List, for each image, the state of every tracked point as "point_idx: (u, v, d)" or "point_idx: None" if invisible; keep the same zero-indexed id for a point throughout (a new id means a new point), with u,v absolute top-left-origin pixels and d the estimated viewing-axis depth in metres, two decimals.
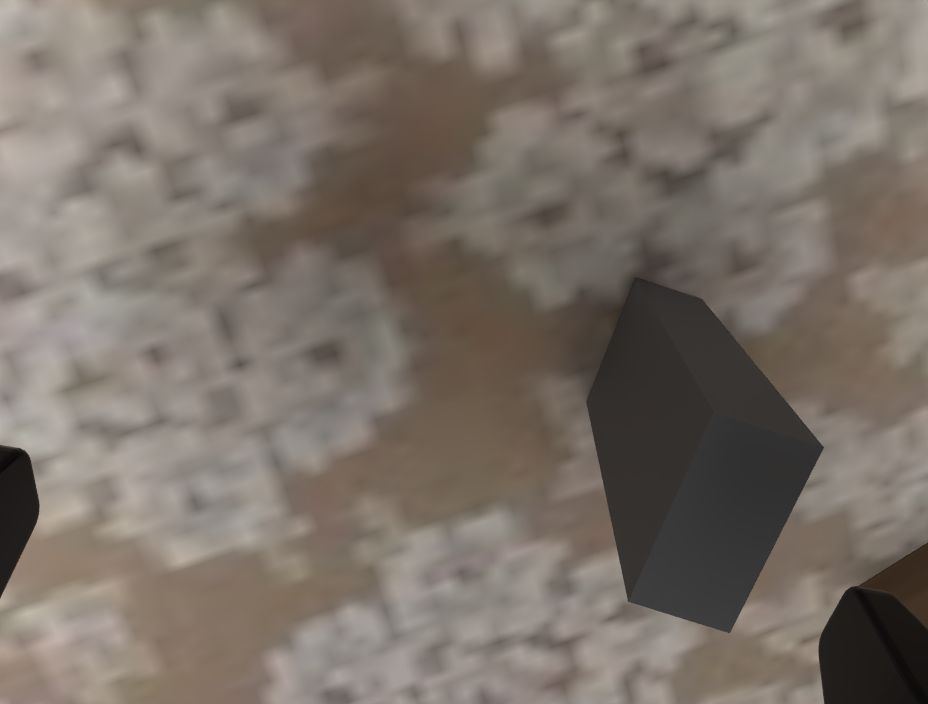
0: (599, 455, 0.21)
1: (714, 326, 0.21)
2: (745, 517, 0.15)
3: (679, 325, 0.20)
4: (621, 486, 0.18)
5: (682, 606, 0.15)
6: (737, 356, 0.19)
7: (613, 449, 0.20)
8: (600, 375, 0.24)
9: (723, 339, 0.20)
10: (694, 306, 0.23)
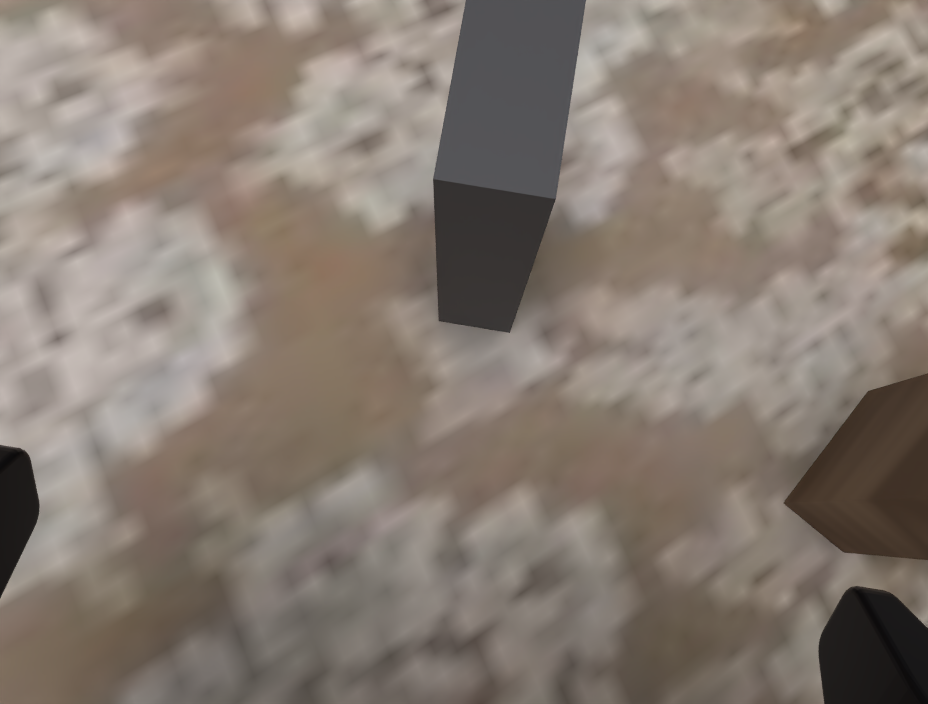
0: None
1: None
2: (533, 62, 0.14)
3: None
4: None
5: (494, 174, 0.14)
6: None
7: None
8: None
9: None
10: None
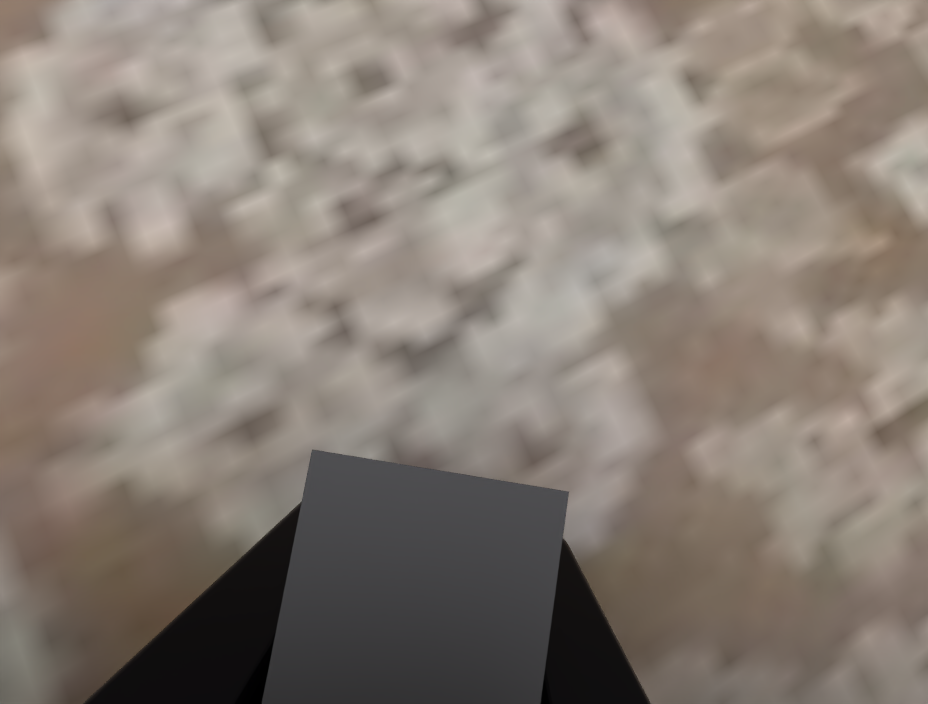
0: None
1: None
2: None
3: None
4: None
5: None
6: None
7: None
8: None
9: None
10: None
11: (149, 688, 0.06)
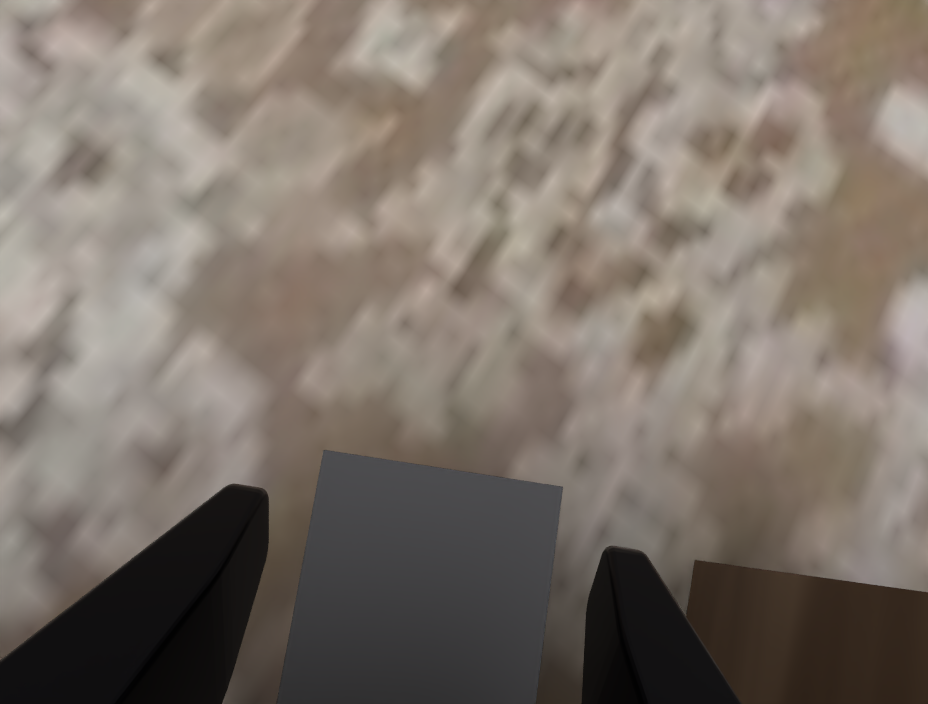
0: None
1: None
2: (447, 686, 0.07)
3: None
4: None
5: None
6: None
7: None
8: None
9: None
10: None
11: (38, 670, 0.06)
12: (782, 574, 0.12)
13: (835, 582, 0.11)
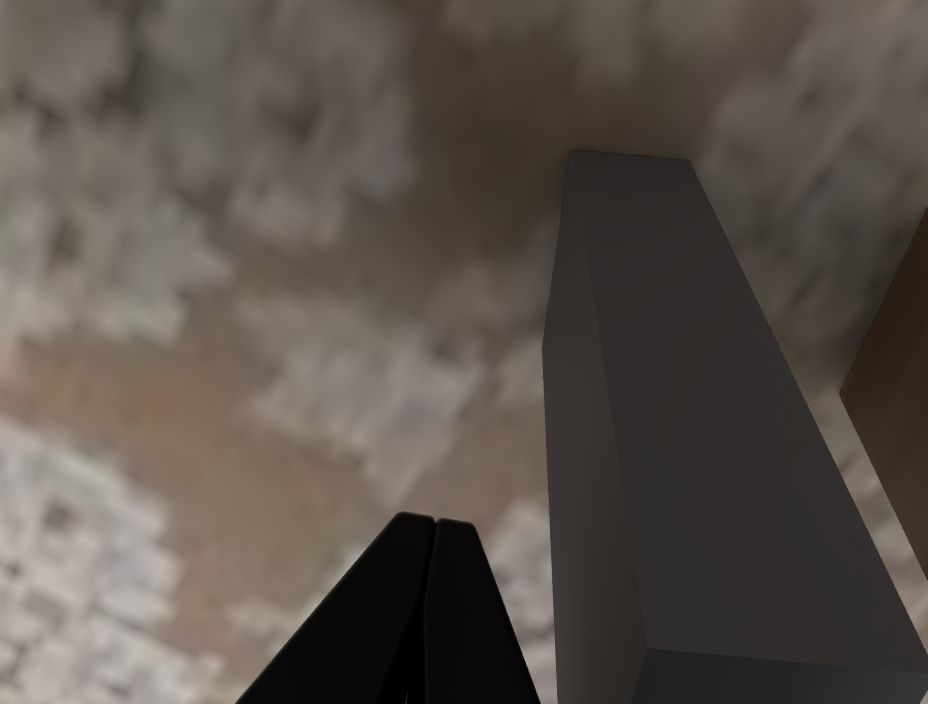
0: (549, 478, 0.13)
1: (701, 238, 0.12)
2: None
3: (627, 269, 0.11)
4: (562, 595, 0.10)
5: None
6: (738, 327, 0.10)
7: (557, 491, 0.12)
8: (549, 313, 0.15)
9: (715, 275, 0.11)
10: (671, 188, 0.13)
11: None
12: None
13: None
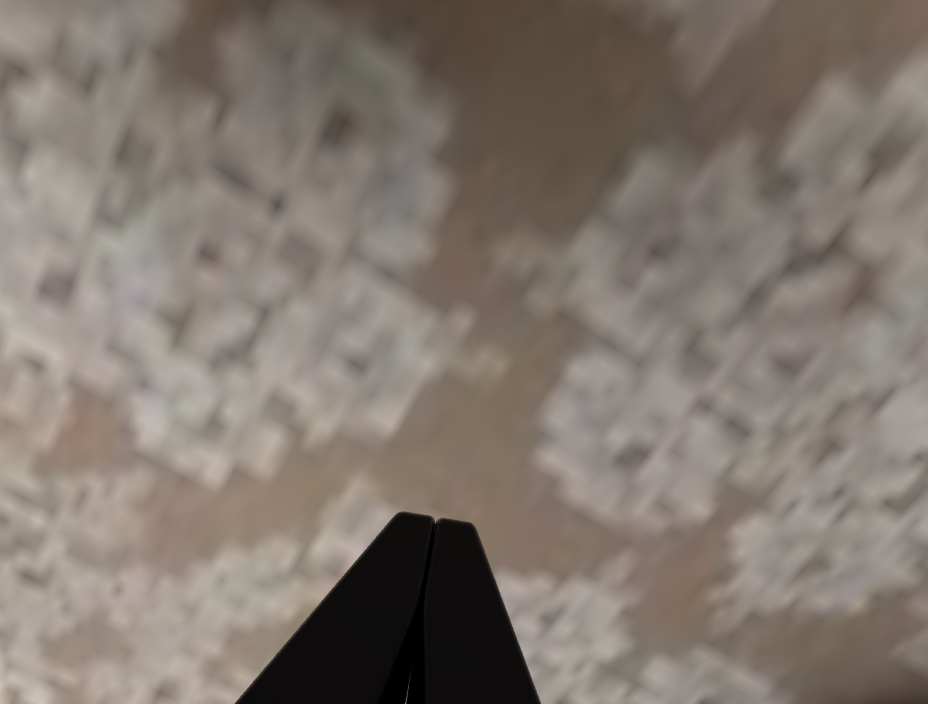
0: None
1: None
2: None
3: None
4: None
5: None
6: None
7: None
8: None
9: None
10: None
11: None
12: None
13: None
